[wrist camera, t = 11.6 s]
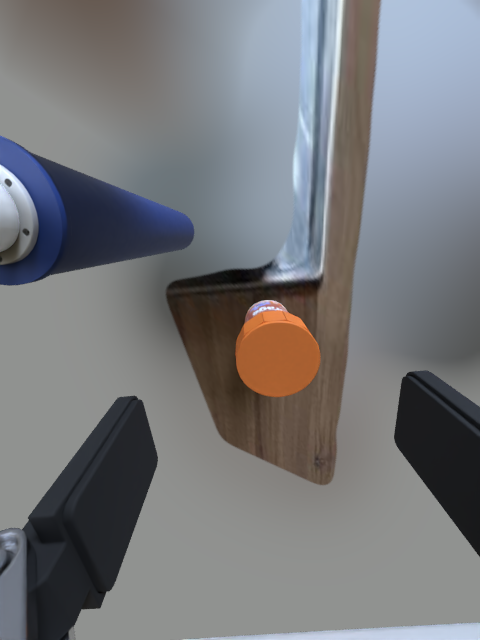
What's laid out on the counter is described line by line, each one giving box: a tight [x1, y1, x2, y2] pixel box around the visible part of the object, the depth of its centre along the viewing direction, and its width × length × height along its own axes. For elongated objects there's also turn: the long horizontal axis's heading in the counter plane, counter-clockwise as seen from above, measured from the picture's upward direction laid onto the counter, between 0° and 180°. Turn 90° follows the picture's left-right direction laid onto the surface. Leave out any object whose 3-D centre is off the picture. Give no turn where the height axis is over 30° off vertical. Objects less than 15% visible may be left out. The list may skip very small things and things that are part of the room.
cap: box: [235, 310, 320, 397], centre depth 24 cm, size 8×8×4 cm
